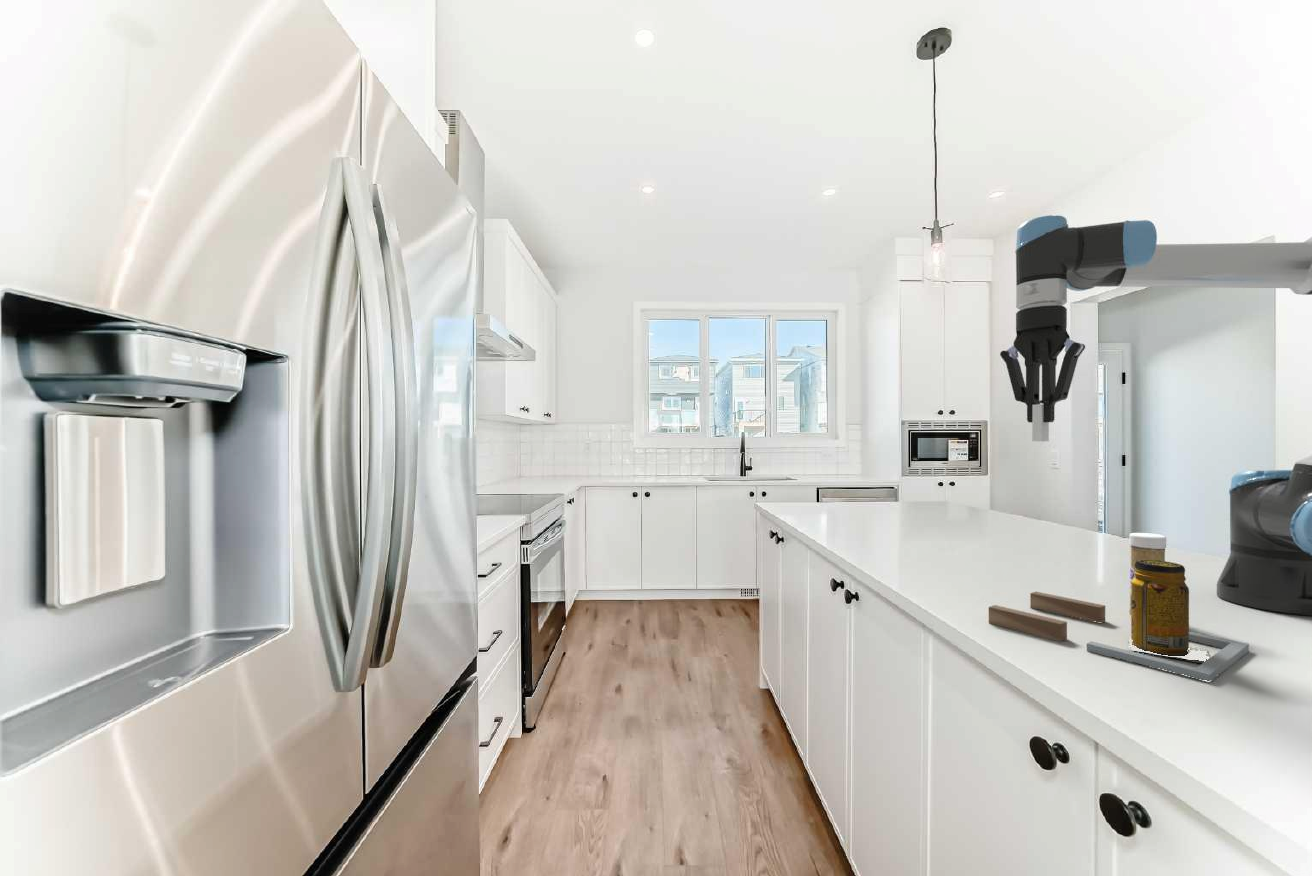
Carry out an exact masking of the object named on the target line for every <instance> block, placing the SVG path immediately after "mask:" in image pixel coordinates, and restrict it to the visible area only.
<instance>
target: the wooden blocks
mask: <svg viewBox="0 0 1312 876" xmlns="http://www.w3.org/2000/svg"><path fill="white" fill-rule="evenodd" d="M1029 598H1030V605H1029V606H1030V609H1034V610H1038V609H1039V611H1042V610H1043V611H1042V612H1047V611H1048V613H1051V612H1052V613H1051V614H1055V613H1056V614H1057V615H1060V616H1064V615H1066V616H1065V617H1069V616H1071V617H1070V618H1073V617H1076V618H1075V619H1077V618H1081V619H1080V620H1082V619H1084V620H1083V621H1086V620H1088V621H1087V622H1091V621H1096V622H1102V621H1105V622H1106V605H1105V604H1099V603H1094V602H1091V601H1090V602H1089V601H1084V600H1079V599H1074V598H1070V597H1066V596H1065V597H1064V596H1060V595H1055V594H1050V593H1045V592H1041V591H1033V592H1030V597H1029ZM988 624H991V625H996V626H999V627H1003V628H1007V629H1011V630H1015V631H1019V632H1023V633H1027V634H1030V635H1032V636H1033V635H1034V636H1038V637H1041V638H1046V639H1049V640H1054V641H1058V642H1060V643H1061V642H1063V641H1066V640H1067V639H1068V621H1065V620H1060V619H1057V618H1052V617H1050V616H1049V617H1048V616H1043V615H1039V614H1036V613H1032V612H1027V611H1023V610H1019V609H1014V608H1010V607H1006V606H1001V605H996V604H995V605H991V606H988Z"/></svg>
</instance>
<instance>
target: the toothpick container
mask: <svg viewBox="0 0 1312 876" xmlns="http://www.w3.org/2000/svg"><path fill="white" fill-rule="evenodd" d="M1128 539H1129V541H1128V543H1129V545H1130V568H1129V569H1130V570H1129V573H1130V575H1129V576H1130V577H1129V579H1130V580H1129V595H1130V596H1129V597H1130V601H1129V611H1128V613H1129V615H1130V616H1131V610H1132V608H1131V595H1132V594H1131V593H1132V592H1131V591H1132V589H1131V585H1132V584H1131V582H1132V580H1133V579H1134V578H1135V563H1136V561H1138V560H1160V561H1166V560H1165V558H1166V555H1165V554H1166V548H1167V536H1164V535H1162V534H1158V533H1150V532H1149V533H1147V532H1132V533H1130V534H1129V537H1128Z"/></svg>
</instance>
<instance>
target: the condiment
mask: <svg viewBox="0 0 1312 876" xmlns="http://www.w3.org/2000/svg"><path fill="white" fill-rule="evenodd" d="M1185 573H1186V568H1185V566H1184V565H1182V564H1180V563H1176V562H1171V561H1166V560H1165V561H1160V560H1138V561H1136V563H1135V578H1134V579H1133V580H1132V582H1131V584H1132V585H1131V589H1132V591H1131V592H1132V593H1131V594H1132V595H1131V608H1132V610H1131V615H1130V616H1131V617H1130V619H1131V621H1130V623H1131V624H1130V628H1131V629H1130V631H1131V633H1130V637H1131V639H1132V640H1133V641H1132V645H1134V646H1136V647H1137V648H1139V649H1142V650H1144V651H1150V652H1153V653H1157V654H1161V655H1168V656H1185V655H1187V654H1188V652H1189V651H1187V650H1188V648H1190V650H1193V649H1194V650H1195V651H1198V650H1199V649H1200V651H1208V649H1206V648H1201V647H1194V648H1192V647H1193V646H1190V645H1189V644H1190V641H1189V631H1190V605H1189V604H1190V588H1189V586H1187V584H1186V580H1187V578H1186V576H1185ZM1189 646H1190V647H1189ZM1197 648H1199V649H1197ZM1127 650H1128V651H1132V652H1134V650H1132V649H1131V647H1130V649H1128V648H1127ZM1208 652H1209V651H1208ZM1206 656H1210V653H1209V654H1206ZM1177 659H1179V660H1180V661H1181V660H1182V659H1181V658H1177ZM1182 661H1183V660H1182ZM1187 661H1188V662H1193V663H1201V664H1202V663H1204V661H1199V660H1186V662H1187ZM1206 661H1207V659H1206Z"/></svg>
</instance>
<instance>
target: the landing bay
mask: <svg viewBox="0 0 1312 876" xmlns="http://www.w3.org/2000/svg"><path fill="white" fill-rule="evenodd" d="M1189 640H1191V641H1190V642H1192V641H1195V642H1194V643H1196V642H1199V643H1198V644H1201V643H1202V644H1201V645H1206V646H1210V645H1212V646H1211V647H1215V648H1220V650H1219V651H1217V652H1216V653H1215V654H1213V655H1211V656H1210V658H1209V659H1208V660H1207V661H1205V662H1204V663H1201V664H1199V665H1198V666H1196V667H1195V666H1191V665H1188V664H1183V663H1180V662H1176V661H1170V660H1168V659H1165V658H1164V659H1163V658H1160V657H1157V656H1153V655H1149V654H1144V653H1139V652H1134V651H1129V650H1128V649H1124V648H1119V647H1117V646H1116V647H1115V646H1111V645H1107V644H1103V643H1099V642H1095V641H1091V640H1090V641H1089V642H1087V643H1086V652H1090V653H1094V654H1099V655H1102V656H1105V657H1109V656H1111V657H1110V658H1112V657H1115V658H1114V659H1116V658H1119V659H1118V660H1120V659H1123V660H1122V661H1124V660H1126V661H1125V662H1128V661H1130V662H1129V663H1132V662H1136V663H1139V664H1143V665H1147V666H1151V667H1154V668H1160V669H1164V670H1167V671H1171V672H1175V673H1177V674H1184V675H1187V676H1190V677H1194V678H1197V679H1201V680H1207V681H1210V680H1213V679H1214V678H1215V677H1216V676H1217V675H1219V674H1220V675H1221V674H1222V672H1223V671H1224V670H1225V671H1227V669H1229V668H1230V667H1231V666H1233V665H1234V664H1235V663H1236V662H1238V661H1239V660H1240V659H1242V657H1243V656H1245V655H1246V654H1248V653H1249V652H1250V644H1249V643H1246V642H1243V641H1237V640H1233V639H1227V638H1223V637H1218V636H1213V635H1209V634H1204V633H1200V632H1194V631H1190V630H1189ZM1139 664H1138V665H1139ZM1143 665H1142V666H1143ZM1147 666H1146V667H1147ZM1151 667H1150V668H1151ZM1154 668H1153V669H1154ZM1225 671H1224V672H1225ZM1177 674H1176V675H1177ZM1220 675H1219V676H1220ZM1216 678H1217V677H1216ZM1216 678H1215V679H1216ZM1215 679H1214V680H1215ZM1214 680H1213V681H1214Z"/></svg>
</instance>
